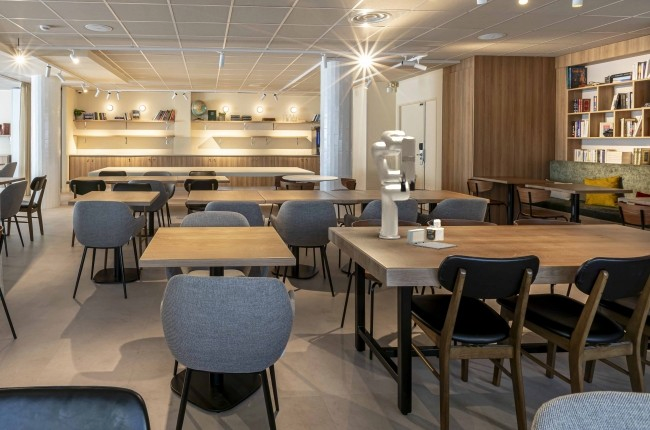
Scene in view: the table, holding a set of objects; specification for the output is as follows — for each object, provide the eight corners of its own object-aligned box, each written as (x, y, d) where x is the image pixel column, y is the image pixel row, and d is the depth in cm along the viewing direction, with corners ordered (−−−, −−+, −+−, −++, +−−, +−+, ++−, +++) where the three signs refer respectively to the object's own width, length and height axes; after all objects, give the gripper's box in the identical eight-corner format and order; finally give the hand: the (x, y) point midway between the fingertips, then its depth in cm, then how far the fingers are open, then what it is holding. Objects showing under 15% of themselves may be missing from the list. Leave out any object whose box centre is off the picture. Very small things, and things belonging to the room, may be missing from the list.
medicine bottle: (426, 240, 366) (426, 219, 365) (434, 239, 370) (435, 218, 369) (435, 241, 361) (435, 220, 359) (443, 240, 365) (444, 219, 364)
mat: (412, 245, 347) (412, 244, 347) (432, 242, 357) (432, 241, 357) (438, 249, 333) (438, 248, 333) (457, 246, 343) (457, 245, 343)
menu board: (407, 243, 353) (407, 230, 352) (420, 241, 360) (420, 228, 359) (411, 244, 351) (411, 231, 350) (424, 242, 358) (425, 229, 357)
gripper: (409, 159, 352) (409, 190, 353) (394, 159, 338) (393, 191, 340) (421, 159, 347) (421, 190, 349) (406, 160, 333) (405, 192, 335)
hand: (407, 191), depth 344 cm, fingers open, 9 cm apart
